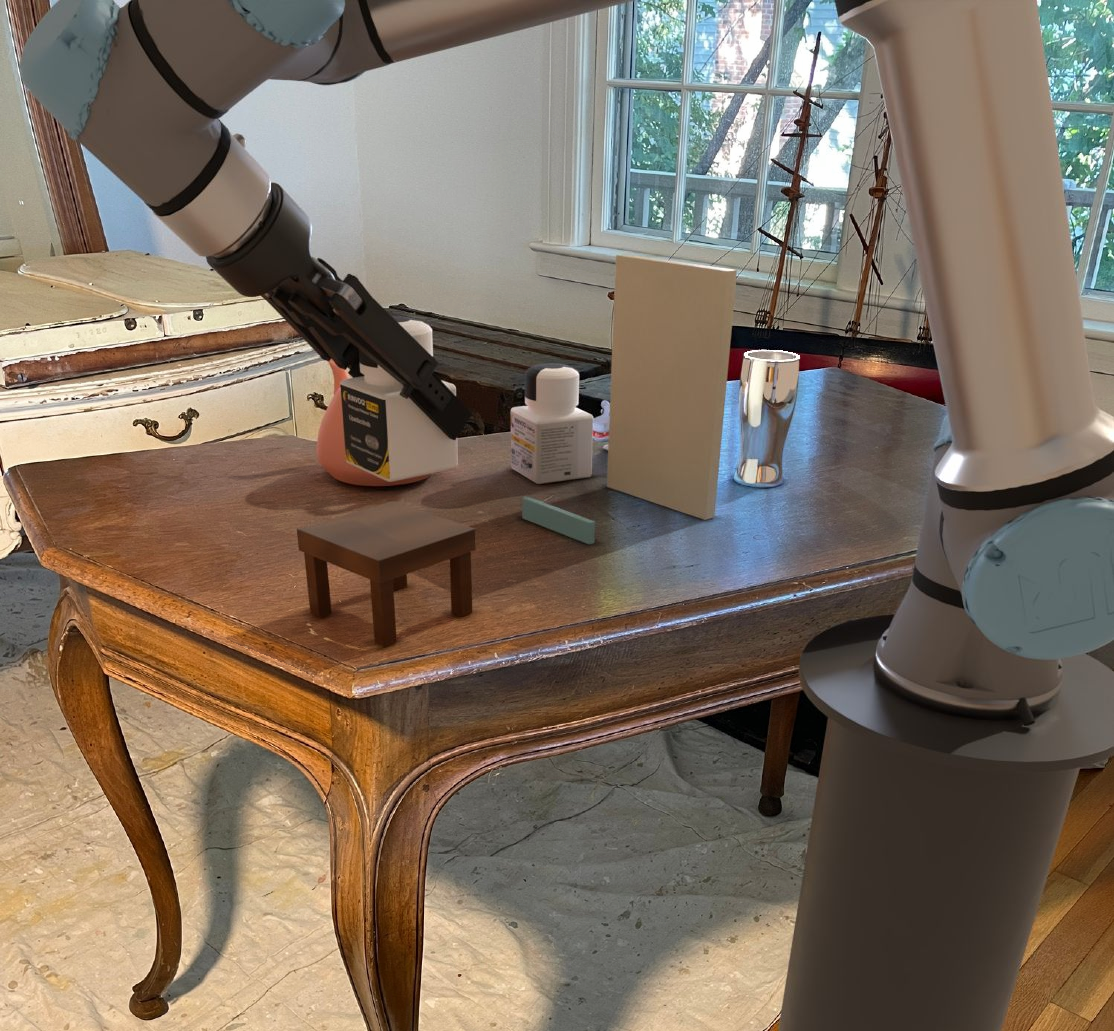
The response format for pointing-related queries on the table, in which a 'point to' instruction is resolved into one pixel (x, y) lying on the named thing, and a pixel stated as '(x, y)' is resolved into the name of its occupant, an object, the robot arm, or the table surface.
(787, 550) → the table surface
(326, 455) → the teapot
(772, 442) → the beer glass
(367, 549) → the stool
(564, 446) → the container
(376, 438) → the medicine bottle
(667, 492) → the beige and grey slabs
